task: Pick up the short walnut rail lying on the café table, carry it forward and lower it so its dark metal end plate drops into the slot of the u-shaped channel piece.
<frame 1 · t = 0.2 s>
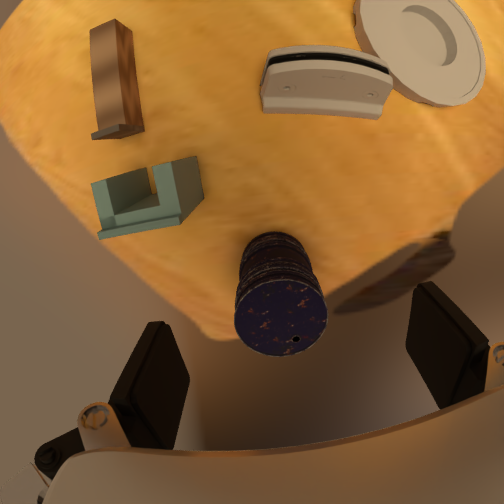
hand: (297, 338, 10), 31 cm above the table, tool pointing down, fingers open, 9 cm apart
hinge: (321, 88, 34), on the table
rail: (124, 79, 33), on the table
ashtray: (418, 40, 29), on the table
storage jar: (274, 262, 43), on the table
u-shaped channel piece: (167, 183, 39), on the table
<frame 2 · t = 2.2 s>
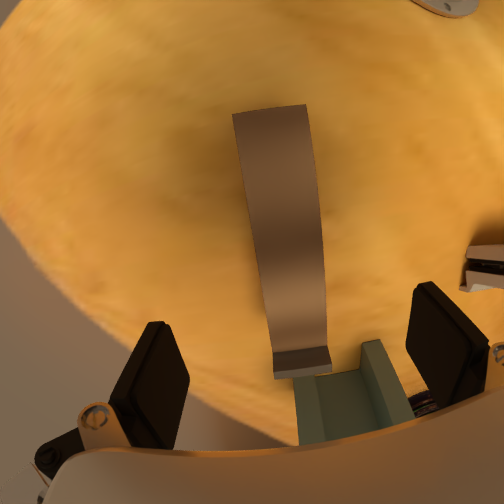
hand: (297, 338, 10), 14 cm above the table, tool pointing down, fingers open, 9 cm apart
rail: (282, 218, 23), on the table
storage jar: (414, 409, 33), on the table
u-shaped channel piece: (336, 367, 28), on the table
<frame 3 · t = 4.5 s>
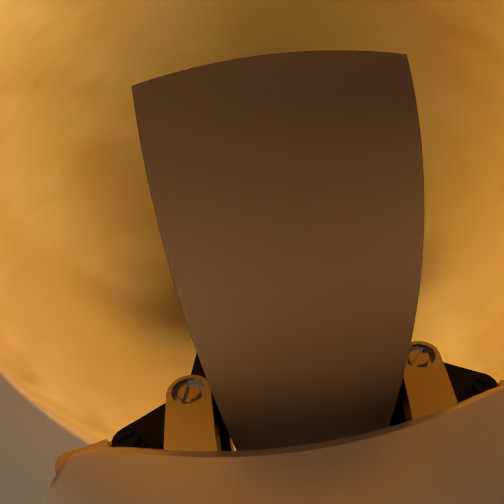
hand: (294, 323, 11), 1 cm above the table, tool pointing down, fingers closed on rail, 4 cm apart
rail: (293, 315, 12), on the table, touching gripper
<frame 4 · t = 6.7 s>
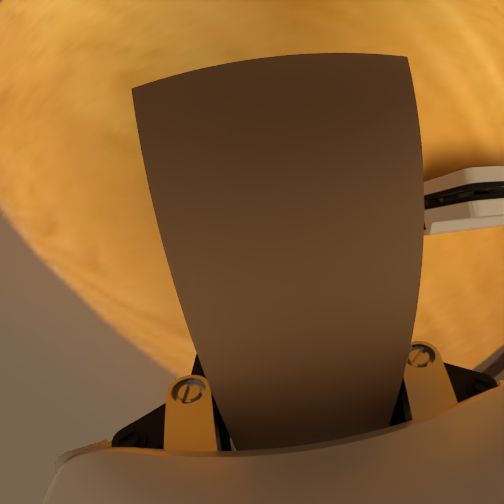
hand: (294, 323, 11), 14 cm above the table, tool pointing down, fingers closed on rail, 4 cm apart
hinge: (476, 192, 23), on the table
rail: (293, 316, 12), point 14 cm above the table, touching gripper
when the fingers open (2 cm above the table, at t = 9.4 s): rail drops 1 cm, on the table.
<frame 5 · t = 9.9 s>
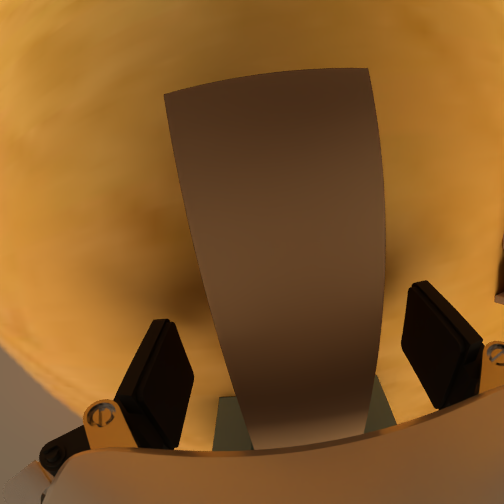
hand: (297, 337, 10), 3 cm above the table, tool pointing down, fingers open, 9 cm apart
rail: (289, 294, 13), on the table
u-shaped channel piece: (301, 417, 16), on the table
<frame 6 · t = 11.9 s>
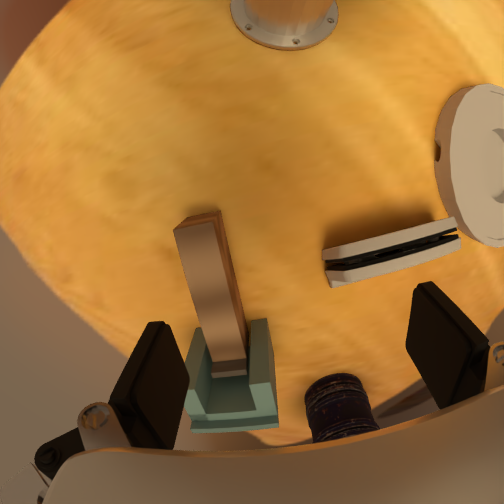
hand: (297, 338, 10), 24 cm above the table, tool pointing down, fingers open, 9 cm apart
hinge: (383, 242, 34), on the table
rail: (218, 277, 35), on the table
ashtray: (487, 163, 30), on the table
storage jar: (333, 393, 41), on the table
u-shaped channel piece: (235, 341, 38), on the table
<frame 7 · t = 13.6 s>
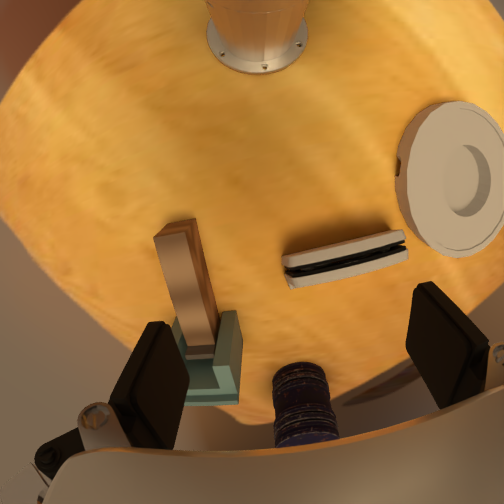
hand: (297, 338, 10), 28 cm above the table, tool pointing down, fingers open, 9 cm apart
hinge: (339, 249, 39), on the table
rail: (194, 274, 41), on the table
ashtray: (454, 177, 35), on the table
storage jar: (298, 379, 48), on the table
u-shaped channel piece: (209, 329, 44), on the table
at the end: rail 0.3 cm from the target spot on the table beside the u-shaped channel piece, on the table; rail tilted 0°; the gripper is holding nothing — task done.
